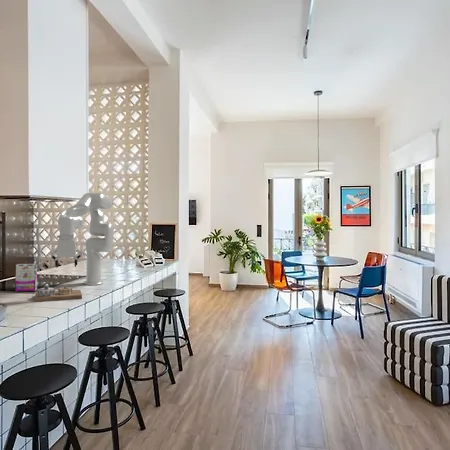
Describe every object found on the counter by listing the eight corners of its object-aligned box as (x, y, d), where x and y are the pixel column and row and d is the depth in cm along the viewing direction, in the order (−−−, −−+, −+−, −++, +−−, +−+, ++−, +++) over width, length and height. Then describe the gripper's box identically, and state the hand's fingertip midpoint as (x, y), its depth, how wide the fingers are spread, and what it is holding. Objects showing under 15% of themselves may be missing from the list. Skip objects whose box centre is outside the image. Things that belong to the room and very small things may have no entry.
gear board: (35, 295, 210) (36, 283, 209) (80, 293, 220) (80, 281, 219) (34, 301, 196) (34, 289, 196) (81, 298, 206) (82, 286, 206)
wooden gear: (58, 292, 211) (58, 287, 211) (71, 291, 214) (71, 286, 214) (58, 295, 204) (58, 289, 204) (72, 294, 207) (72, 289, 207)
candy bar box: (37, 289, 225) (37, 263, 224) (35, 291, 220) (35, 264, 220) (17, 290, 222) (17, 263, 221) (14, 291, 217) (15, 264, 216)
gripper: (49, 238, 201) (49, 268, 202) (83, 238, 208) (82, 267, 209) (50, 237, 208) (49, 266, 209) (82, 236, 215) (81, 265, 216)
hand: (66, 266), depth 209 cm, fingers open, 9 cm apart
